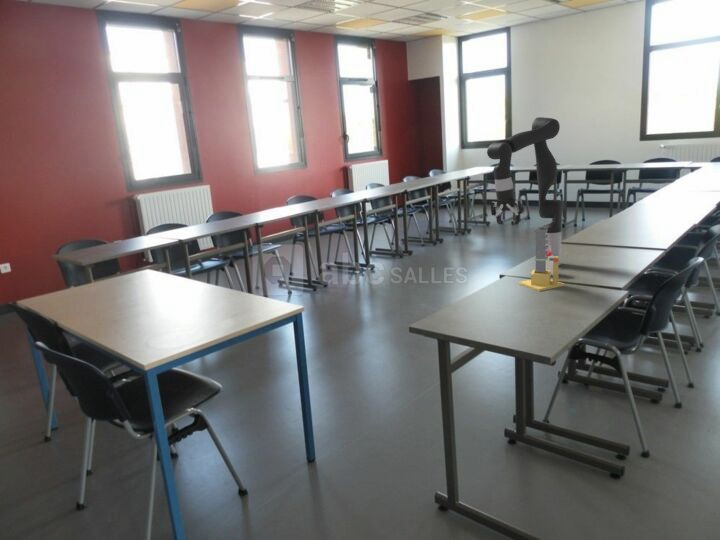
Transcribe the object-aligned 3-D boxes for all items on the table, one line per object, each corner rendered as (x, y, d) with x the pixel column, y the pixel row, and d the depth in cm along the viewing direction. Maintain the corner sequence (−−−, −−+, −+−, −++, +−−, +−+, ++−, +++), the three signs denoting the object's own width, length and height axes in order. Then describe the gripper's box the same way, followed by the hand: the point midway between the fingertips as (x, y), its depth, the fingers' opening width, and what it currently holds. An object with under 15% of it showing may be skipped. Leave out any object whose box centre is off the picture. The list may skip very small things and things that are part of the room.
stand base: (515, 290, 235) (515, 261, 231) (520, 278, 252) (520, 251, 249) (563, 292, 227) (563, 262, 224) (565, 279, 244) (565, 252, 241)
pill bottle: (533, 273, 259) (533, 251, 256) (547, 271, 261) (547, 249, 258) (543, 276, 251) (543, 254, 249) (557, 274, 254) (557, 252, 251)
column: (534, 272, 237) (534, 229, 232) (535, 269, 241) (535, 227, 236) (547, 272, 234) (547, 229, 230) (548, 269, 239) (548, 227, 234)
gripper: (522, 184, 233) (527, 220, 237) (492, 187, 241) (497, 221, 246) (517, 188, 227) (521, 225, 232) (485, 191, 236) (490, 226, 240)
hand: (508, 223), depth 239 cm, fingers open, 8 cm apart
